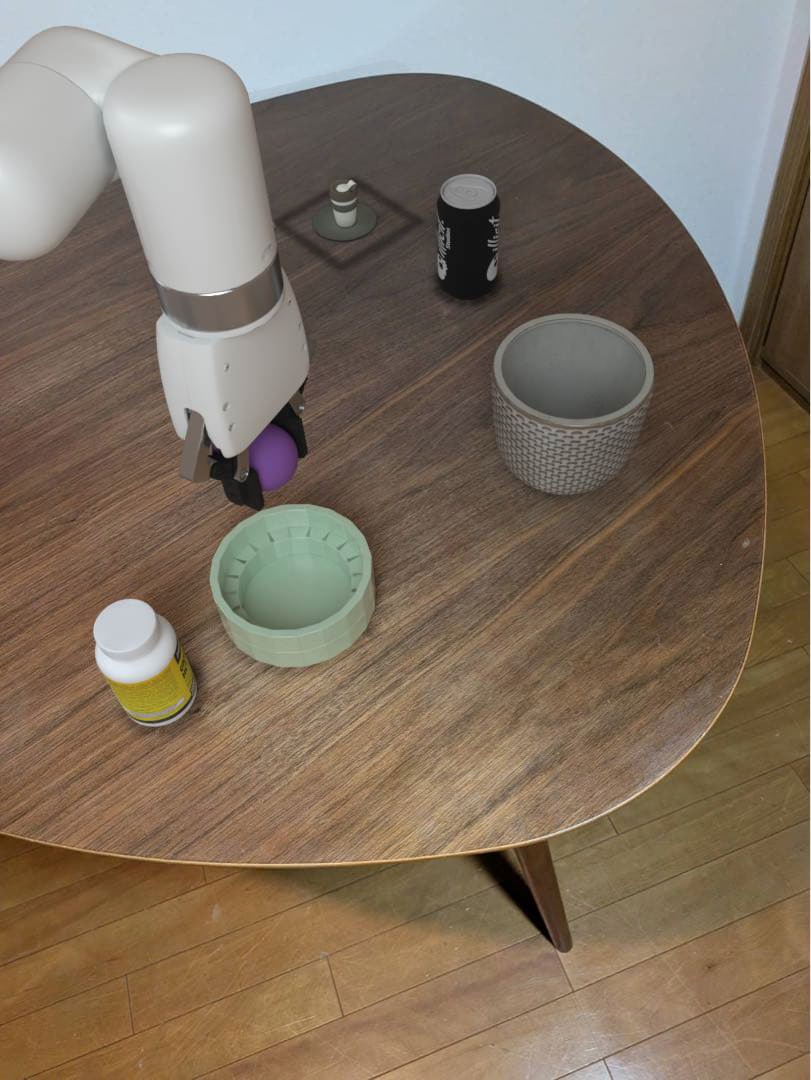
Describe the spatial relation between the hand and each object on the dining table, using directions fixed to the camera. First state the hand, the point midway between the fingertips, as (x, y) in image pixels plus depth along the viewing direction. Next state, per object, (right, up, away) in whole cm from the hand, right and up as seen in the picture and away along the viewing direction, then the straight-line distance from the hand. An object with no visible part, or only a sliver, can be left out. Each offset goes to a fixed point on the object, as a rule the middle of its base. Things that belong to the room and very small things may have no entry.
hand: (267, 473), depth 73 cm
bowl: (+1, -10, +13) cm, 17 cm away
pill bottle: (-10, -18, +8) cm, 22 cm away
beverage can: (+17, +24, +37) cm, 47 cm away
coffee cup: (+3, +33, +45) cm, 56 cm away
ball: (0, 0, +1) cm, 1 cm away
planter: (+25, +2, +21) cm, 33 cm away
